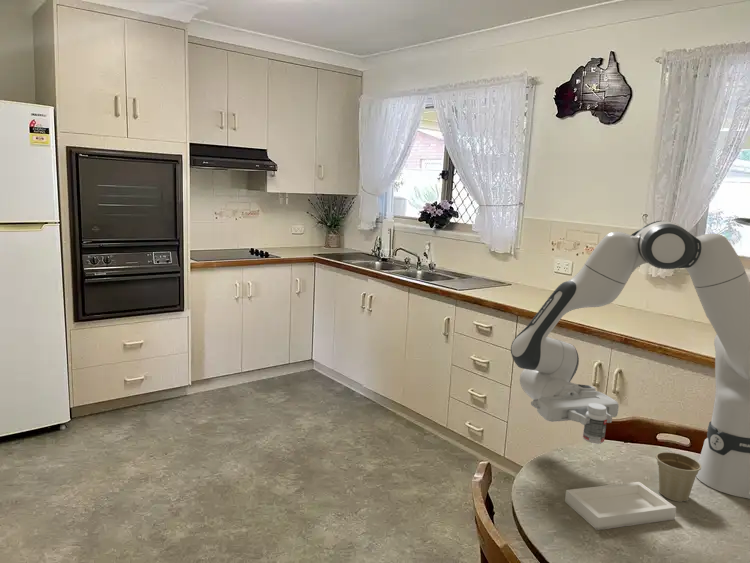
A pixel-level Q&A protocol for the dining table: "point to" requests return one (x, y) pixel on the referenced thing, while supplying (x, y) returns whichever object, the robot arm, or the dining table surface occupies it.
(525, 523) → the dining table surface
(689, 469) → the flower pot
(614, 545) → the dining table surface
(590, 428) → the pill bottle
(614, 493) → the tray
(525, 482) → the dining table surface
